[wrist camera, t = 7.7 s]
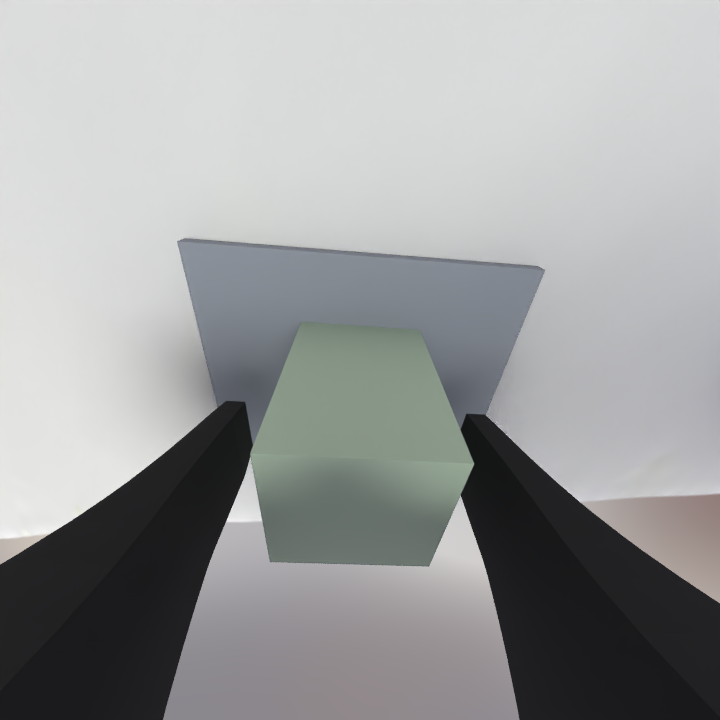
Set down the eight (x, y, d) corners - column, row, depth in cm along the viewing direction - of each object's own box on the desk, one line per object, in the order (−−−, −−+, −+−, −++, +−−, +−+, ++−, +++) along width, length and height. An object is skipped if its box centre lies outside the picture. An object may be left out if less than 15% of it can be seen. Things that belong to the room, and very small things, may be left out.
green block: (419, 329, 11) (474, 463, 6) (401, 416, 13) (429, 566, 8) (301, 321, 11) (250, 453, 6) (304, 411, 13) (269, 561, 8)
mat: (537, 266, 10) (545, 270, 10) (461, 456, 15) (464, 464, 15) (185, 238, 10) (177, 241, 9) (232, 446, 15) (228, 454, 14)
